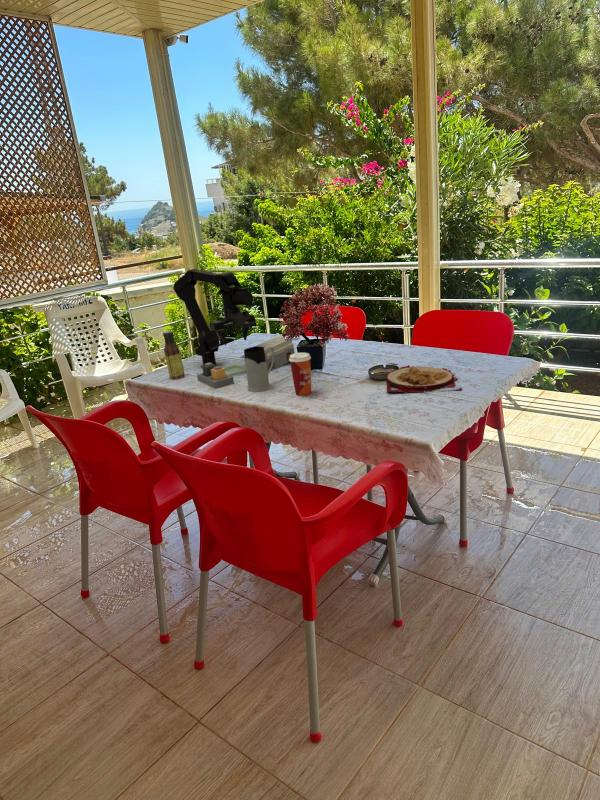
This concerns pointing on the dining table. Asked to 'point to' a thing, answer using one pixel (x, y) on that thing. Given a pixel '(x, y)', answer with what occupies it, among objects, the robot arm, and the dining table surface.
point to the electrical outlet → (277, 351)
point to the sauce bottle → (173, 357)
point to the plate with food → (419, 379)
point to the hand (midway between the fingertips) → (235, 342)
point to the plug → (218, 373)
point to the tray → (234, 369)
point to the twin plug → (208, 369)
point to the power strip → (213, 383)
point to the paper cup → (301, 373)
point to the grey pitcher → (257, 368)
